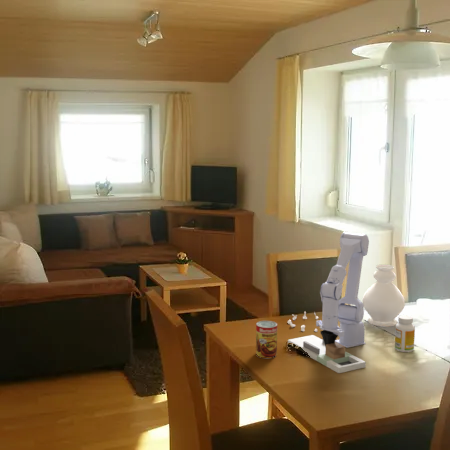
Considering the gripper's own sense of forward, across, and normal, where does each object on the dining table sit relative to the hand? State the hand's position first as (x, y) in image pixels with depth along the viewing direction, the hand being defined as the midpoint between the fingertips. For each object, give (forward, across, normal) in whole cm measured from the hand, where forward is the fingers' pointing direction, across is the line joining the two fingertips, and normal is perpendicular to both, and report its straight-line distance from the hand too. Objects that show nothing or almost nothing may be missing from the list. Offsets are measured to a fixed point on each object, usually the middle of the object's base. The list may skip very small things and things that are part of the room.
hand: (329, 349), depth 235 cm
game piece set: (+4, -34, +16) cm, 38 cm away
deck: (+3, -2, 0) cm, 4 cm away
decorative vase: (+3, -22, +46) cm, 51 cm away
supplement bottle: (+3, +6, +31) cm, 32 cm away
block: (+1, +4, 0) cm, 4 cm away
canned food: (+3, -14, -19) cm, 24 cm away
